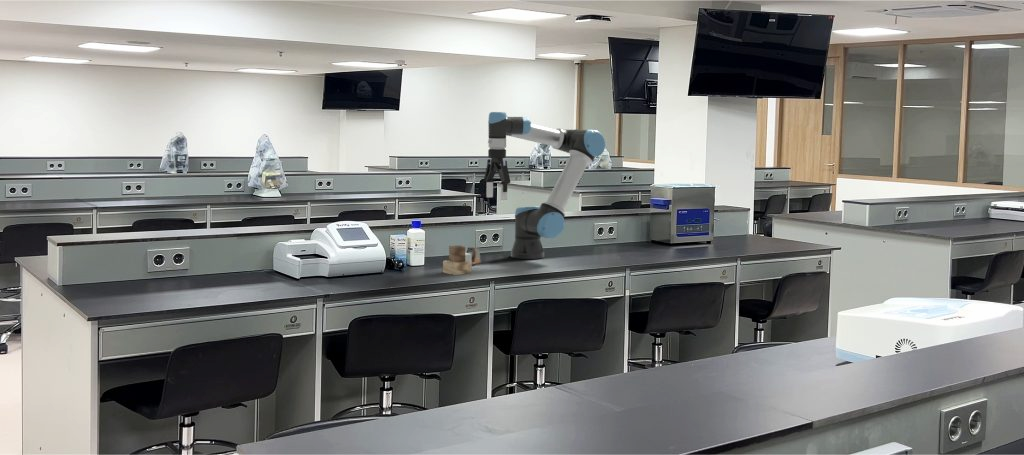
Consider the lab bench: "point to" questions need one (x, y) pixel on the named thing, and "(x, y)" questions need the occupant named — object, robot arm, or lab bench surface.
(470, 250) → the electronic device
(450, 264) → the oak base
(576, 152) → the robot arm
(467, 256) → the grey cube
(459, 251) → the walnut block
